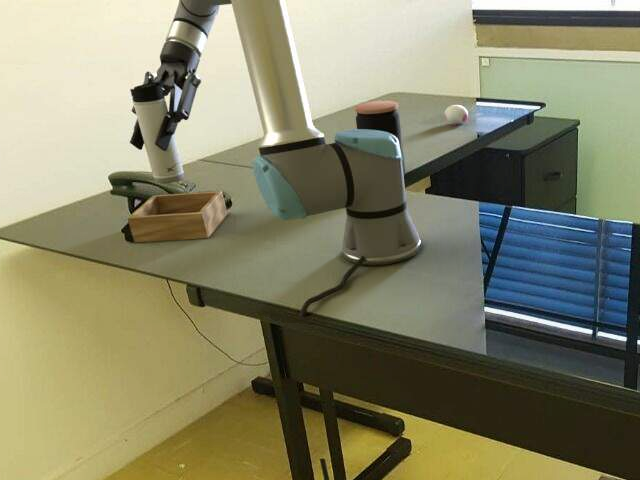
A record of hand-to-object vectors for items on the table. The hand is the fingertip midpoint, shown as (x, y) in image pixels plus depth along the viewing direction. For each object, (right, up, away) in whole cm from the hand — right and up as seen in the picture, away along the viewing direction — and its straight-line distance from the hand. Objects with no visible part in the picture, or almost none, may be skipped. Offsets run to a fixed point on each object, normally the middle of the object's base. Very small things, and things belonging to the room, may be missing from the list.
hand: (148, 146), depth 164 cm
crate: (+3, -14, +12) cm, 19 cm away
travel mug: (+2, -5, +7) cm, 9 cm away
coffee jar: (+45, +3, +37) cm, 58 cm away
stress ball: (+62, +33, +86) cm, 111 cm away
